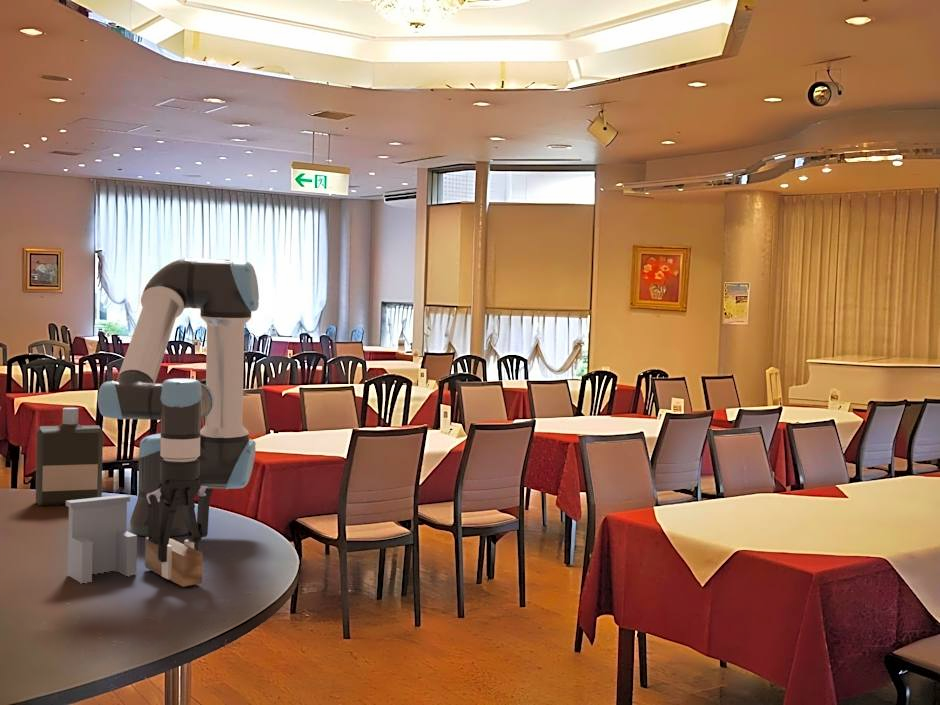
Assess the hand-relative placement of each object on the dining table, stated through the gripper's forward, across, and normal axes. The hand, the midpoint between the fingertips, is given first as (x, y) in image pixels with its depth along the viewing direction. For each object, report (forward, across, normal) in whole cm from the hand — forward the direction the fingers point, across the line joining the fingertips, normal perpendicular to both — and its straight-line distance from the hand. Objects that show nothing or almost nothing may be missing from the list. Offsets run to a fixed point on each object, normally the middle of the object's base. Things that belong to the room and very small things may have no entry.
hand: (177, 575), depth 200 cm
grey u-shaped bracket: (+1, +10, -12) cm, 16 cm away
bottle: (+3, -11, -83) cm, 83 cm away
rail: (0, 0, -2) cm, 2 cm away
